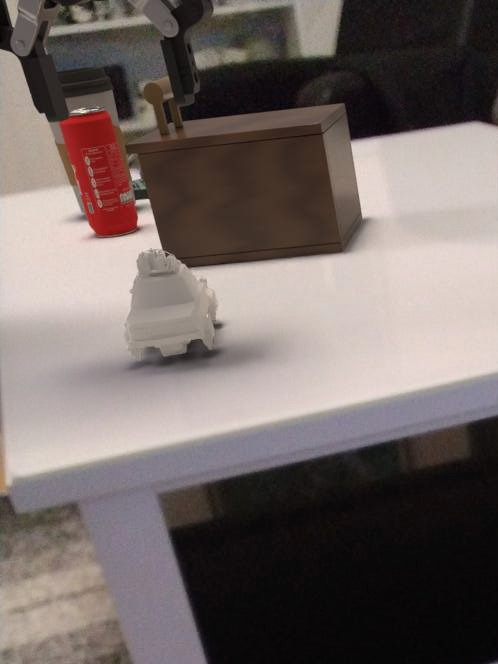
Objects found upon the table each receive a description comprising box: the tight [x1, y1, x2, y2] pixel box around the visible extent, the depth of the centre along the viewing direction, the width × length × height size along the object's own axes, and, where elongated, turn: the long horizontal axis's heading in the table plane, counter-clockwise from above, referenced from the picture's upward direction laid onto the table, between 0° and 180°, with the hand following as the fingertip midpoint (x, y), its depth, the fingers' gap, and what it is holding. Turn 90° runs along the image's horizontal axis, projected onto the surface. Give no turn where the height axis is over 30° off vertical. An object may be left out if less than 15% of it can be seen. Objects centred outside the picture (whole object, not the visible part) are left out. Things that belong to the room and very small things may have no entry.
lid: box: [124, 75, 347, 156], centre depth 93 cm, size 18×14×5 cm
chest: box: [137, 112, 364, 268], centre depth 97 cm, size 17×14×10 cm
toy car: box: [123, 248, 219, 362], centre depth 72 cm, size 6×12×7 cm, turn 10°
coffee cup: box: [48, 66, 137, 219], centre depth 118 cm, size 8×8×15 cm
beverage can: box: [59, 107, 139, 238], centre depth 109 cm, size 5×5×12 cm
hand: (122, 113), depth 66 cm, fingers open, 8 cm apart
